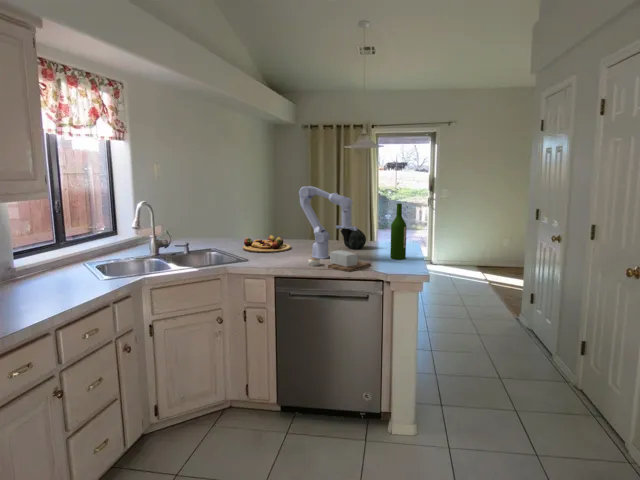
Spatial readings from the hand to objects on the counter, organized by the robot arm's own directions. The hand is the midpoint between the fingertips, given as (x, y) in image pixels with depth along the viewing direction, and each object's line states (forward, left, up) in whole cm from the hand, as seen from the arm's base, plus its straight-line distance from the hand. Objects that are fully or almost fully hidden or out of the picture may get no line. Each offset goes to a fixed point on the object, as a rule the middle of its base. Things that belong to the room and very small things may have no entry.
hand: (346, 241), depth 265 cm
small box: (+4, -16, -6) cm, 17 cm away
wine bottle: (+22, +22, -11) cm, 33 cm away
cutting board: (+14, -15, -10) cm, 23 cm away
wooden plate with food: (-62, -6, -11) cm, 63 cm away
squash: (-18, +33, -11) cm, 39 cm away
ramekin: (-4, -24, -10) cm, 27 cm away
